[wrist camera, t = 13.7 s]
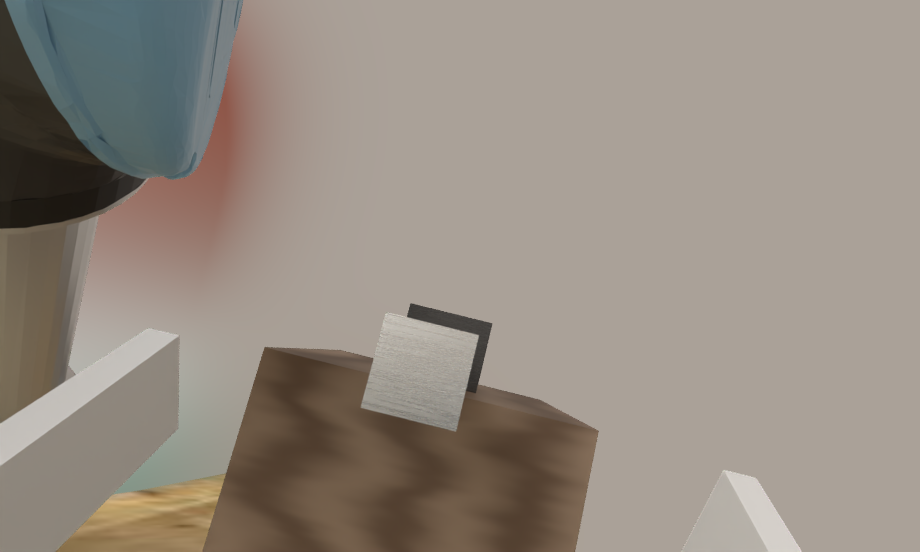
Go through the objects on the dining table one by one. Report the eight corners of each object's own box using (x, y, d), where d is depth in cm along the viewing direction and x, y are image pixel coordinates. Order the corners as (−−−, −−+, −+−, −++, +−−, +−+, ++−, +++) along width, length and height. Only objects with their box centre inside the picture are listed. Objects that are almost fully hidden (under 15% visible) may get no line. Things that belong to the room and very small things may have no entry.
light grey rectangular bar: (313, 395, 15) (357, 240, 16) (401, 369, 41) (416, 310, 42) (503, 443, 15) (539, 285, 16) (472, 387, 41) (487, 327, 42)
